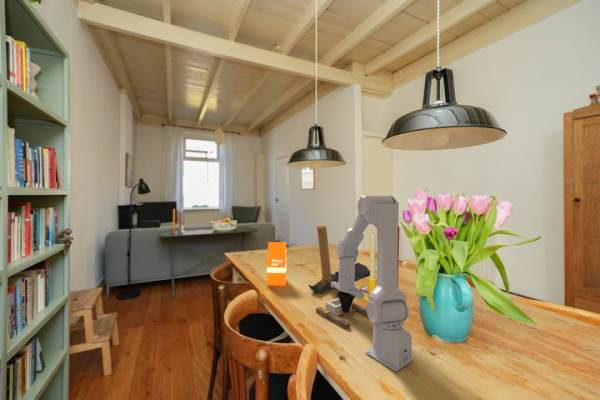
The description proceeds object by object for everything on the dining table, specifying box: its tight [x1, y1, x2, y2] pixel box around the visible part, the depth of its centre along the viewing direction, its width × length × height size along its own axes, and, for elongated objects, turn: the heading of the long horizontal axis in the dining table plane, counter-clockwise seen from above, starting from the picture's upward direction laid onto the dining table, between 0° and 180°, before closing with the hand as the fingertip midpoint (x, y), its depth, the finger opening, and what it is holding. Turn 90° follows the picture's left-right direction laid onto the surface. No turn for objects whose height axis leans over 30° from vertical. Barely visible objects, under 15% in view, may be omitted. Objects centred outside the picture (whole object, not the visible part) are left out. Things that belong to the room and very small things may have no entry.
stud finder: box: [324, 298, 352, 316], centre depth 97 cm, size 6×8×4 cm
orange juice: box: [266, 241, 287, 286], centre depth 127 cm, size 8×9×20 cm
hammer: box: [307, 225, 339, 294], centre depth 119 cm, size 20×5×30 cm, turn 137°
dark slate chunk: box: [334, 262, 371, 282], centre depth 142 cm, size 15×22×5 cm
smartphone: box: [358, 285, 369, 294], centre depth 116 cm, size 1×7×15 cm
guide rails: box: [315, 301, 369, 330], centre depth 94 cm, size 15×15×2 cm
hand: (346, 312), depth 94 cm, fingers closed
